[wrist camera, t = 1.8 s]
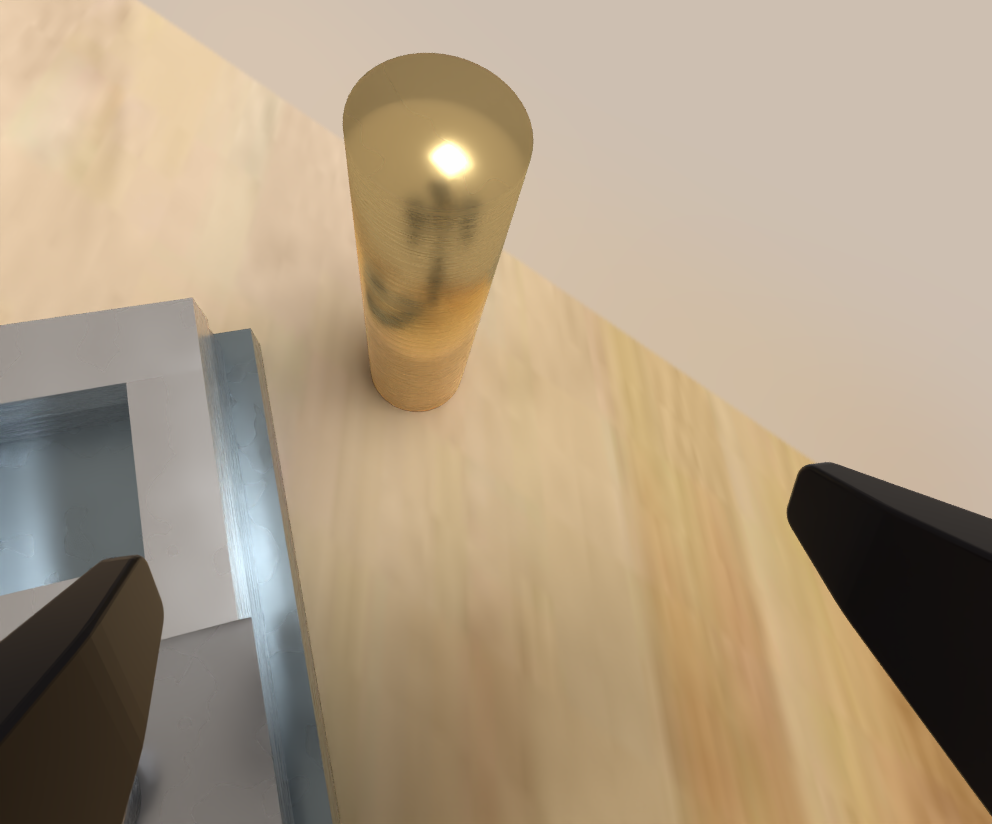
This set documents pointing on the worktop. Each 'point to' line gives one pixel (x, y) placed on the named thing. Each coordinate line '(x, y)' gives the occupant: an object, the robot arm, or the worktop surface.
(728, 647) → the worktop surface
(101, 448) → the tiered gray console
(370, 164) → the pin
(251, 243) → the worktop surface
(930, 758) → the worktop surface
